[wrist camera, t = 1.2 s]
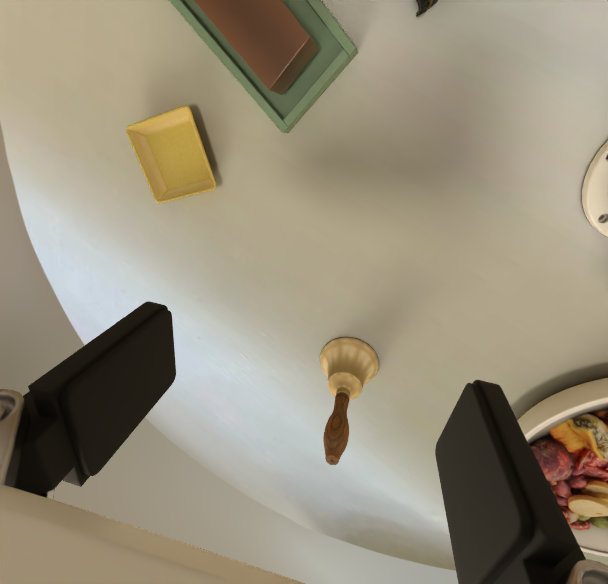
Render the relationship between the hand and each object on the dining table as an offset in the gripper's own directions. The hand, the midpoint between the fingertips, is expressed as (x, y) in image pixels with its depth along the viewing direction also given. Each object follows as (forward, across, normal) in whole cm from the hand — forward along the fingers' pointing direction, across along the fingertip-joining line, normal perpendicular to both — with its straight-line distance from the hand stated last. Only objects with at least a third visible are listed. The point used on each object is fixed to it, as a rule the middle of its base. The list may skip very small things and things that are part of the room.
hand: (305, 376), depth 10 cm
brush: (+28, +13, -15) cm, 35 cm away
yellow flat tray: (+29, +22, -2) cm, 36 cm away
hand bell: (+29, -3, +22) cm, 37 cm away
